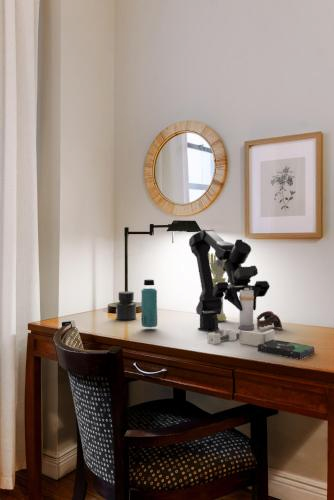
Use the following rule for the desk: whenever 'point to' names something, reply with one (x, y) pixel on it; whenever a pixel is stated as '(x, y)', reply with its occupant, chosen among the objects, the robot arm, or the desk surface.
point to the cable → (226, 337)
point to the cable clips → (217, 336)
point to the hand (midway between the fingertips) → (248, 309)
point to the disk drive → (286, 349)
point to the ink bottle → (126, 306)
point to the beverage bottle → (149, 305)
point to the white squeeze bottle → (246, 310)
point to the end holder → (255, 337)
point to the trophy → (218, 278)
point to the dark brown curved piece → (269, 320)
